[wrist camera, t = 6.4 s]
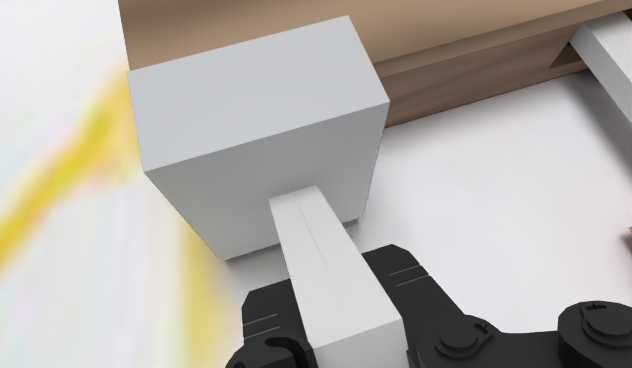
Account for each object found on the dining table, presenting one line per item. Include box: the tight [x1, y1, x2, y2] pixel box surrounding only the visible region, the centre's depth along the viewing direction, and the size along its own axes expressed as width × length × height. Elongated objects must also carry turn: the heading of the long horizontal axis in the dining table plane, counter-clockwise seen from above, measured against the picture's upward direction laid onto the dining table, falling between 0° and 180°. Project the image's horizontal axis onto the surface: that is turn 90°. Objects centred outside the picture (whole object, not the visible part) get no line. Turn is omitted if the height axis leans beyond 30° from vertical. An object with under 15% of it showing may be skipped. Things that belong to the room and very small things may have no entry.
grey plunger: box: [127, 15, 390, 261], centre depth 16 cm, size 12×6×8 cm, turn 18°
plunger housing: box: [118, 0, 632, 128], centre depth 20 cm, size 10×24×5 cm, turn 108°
